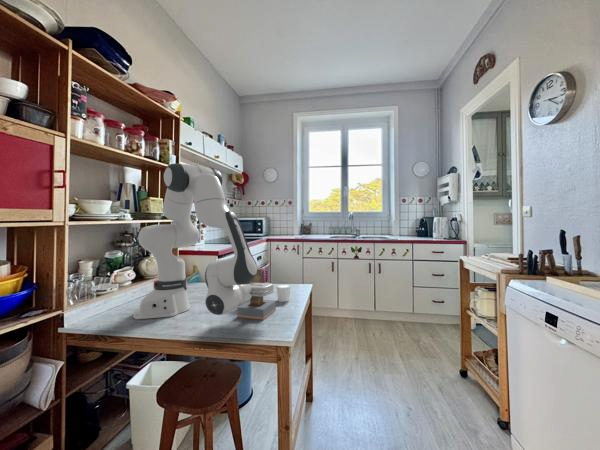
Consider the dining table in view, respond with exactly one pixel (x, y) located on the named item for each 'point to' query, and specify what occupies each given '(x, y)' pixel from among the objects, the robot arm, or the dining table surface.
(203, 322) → the dining table surface
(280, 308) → the dining table surface
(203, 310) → the dining table surface
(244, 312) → the end cap
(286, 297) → the shot glass
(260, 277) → the block
